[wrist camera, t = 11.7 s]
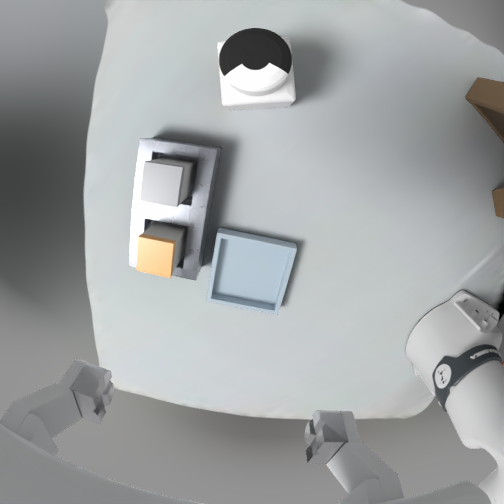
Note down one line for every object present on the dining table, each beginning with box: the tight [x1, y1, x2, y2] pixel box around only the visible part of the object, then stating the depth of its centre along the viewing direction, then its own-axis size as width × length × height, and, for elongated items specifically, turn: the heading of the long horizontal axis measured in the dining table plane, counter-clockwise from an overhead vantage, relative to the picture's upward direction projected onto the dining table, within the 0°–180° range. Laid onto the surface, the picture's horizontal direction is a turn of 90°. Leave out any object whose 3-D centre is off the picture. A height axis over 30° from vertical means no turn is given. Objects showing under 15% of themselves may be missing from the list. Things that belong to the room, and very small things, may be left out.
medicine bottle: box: [217, 28, 296, 111], centre depth 25 cm, size 7×7×12 cm
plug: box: [136, 221, 188, 278], centre depth 34 cm, size 4×4×7 cm
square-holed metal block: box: [129, 138, 222, 280], centre depth 35 cm, size 16×9×4 cm, turn 168°
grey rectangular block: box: [140, 156, 197, 208], centre depth 31 cm, size 4×4×7 cm
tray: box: [206, 228, 297, 315], centre depth 39 cm, size 10×10×2 cm
